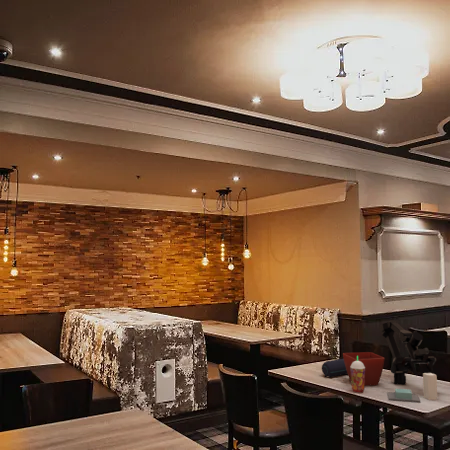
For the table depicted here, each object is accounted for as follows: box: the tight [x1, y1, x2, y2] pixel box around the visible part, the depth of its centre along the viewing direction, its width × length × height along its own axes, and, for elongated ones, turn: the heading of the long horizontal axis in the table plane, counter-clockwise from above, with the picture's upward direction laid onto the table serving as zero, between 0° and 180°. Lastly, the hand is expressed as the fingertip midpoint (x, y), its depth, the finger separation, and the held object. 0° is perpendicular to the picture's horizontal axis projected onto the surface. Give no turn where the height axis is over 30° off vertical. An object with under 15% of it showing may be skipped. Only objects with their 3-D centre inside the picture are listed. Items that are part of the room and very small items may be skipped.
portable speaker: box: [321, 358, 348, 378], centre depth 321 cm, size 25×10×10 cm, turn 125°
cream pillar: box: [422, 372, 438, 401], centre depth 267 cm, size 5×5×13 cm
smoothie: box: [350, 356, 365, 394], centre depth 282 cm, size 8×8×20 cm
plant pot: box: [342, 351, 385, 387], centre depth 300 cm, size 19×19×17 cm
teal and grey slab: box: [387, 388, 421, 404], centre depth 268 cm, size 16×14×4 cm
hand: (424, 374), depth 272 cm, fingers open, 9 cm apart
